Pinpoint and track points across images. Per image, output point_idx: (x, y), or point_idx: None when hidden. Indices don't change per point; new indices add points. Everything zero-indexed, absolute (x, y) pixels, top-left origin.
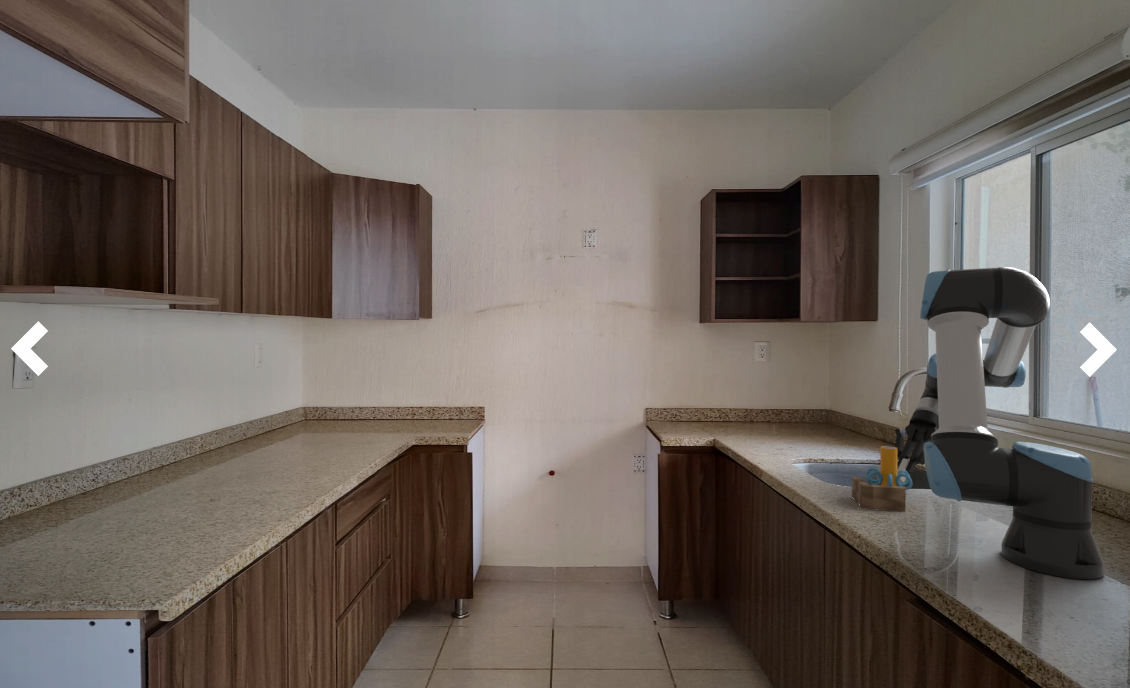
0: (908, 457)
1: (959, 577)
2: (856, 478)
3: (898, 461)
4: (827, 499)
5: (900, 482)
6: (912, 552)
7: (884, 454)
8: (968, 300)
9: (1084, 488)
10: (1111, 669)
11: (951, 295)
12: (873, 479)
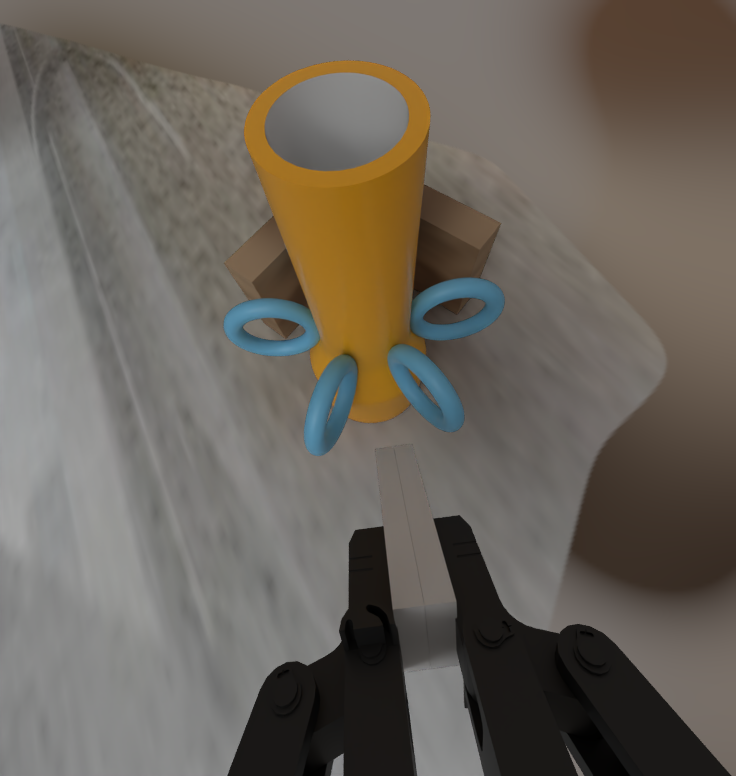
0: (485, 768)
1: (9, 74)
2: (463, 216)
3: (490, 578)
4: (490, 207)
5: (339, 398)
6: (106, 92)
7: (342, 133)
8: None
9: None
10: None
11: None
12: (455, 328)
